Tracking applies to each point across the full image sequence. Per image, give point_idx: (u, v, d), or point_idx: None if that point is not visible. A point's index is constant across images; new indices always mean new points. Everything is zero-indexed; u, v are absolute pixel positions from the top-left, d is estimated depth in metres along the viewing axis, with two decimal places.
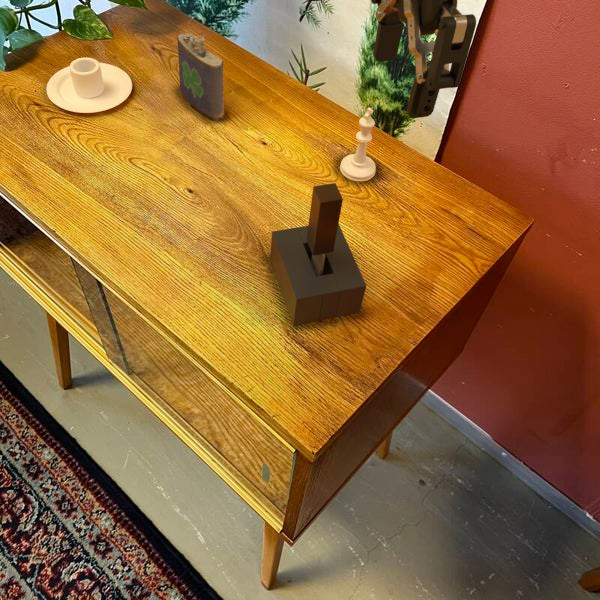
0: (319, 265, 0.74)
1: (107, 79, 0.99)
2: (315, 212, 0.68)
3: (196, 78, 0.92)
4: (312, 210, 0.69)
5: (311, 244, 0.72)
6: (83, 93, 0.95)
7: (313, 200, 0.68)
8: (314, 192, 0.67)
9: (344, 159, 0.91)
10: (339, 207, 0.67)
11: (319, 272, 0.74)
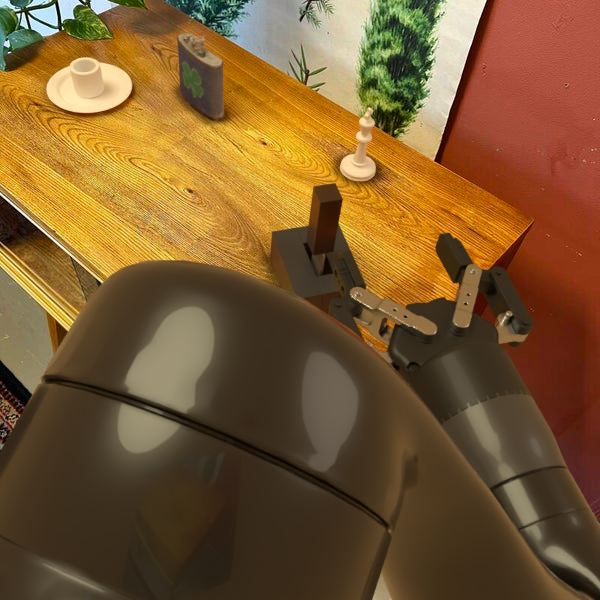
0: (319, 265, 0.74)
1: (107, 78, 0.99)
2: (315, 212, 0.68)
3: (196, 78, 0.92)
4: (312, 210, 0.69)
5: (311, 244, 0.72)
6: (83, 93, 0.95)
7: (313, 200, 0.68)
8: (314, 192, 0.67)
9: (344, 159, 0.91)
10: (339, 207, 0.67)
11: (319, 272, 0.74)
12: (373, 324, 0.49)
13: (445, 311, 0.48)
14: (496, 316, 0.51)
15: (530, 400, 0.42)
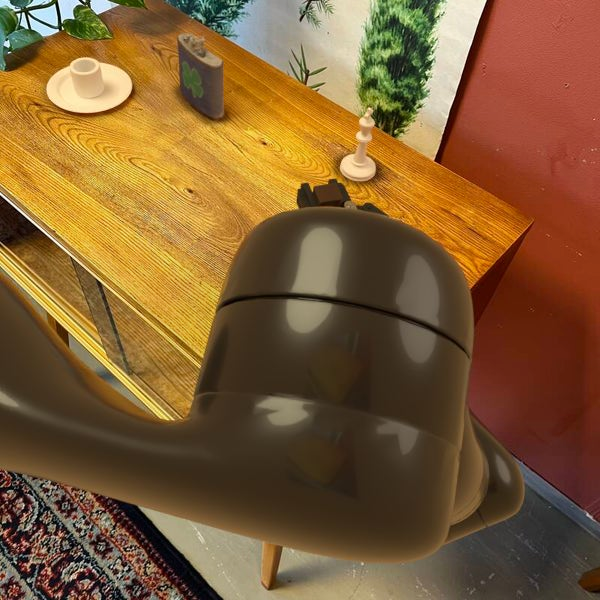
0: None
1: (107, 78, 0.99)
2: None
3: (196, 78, 0.92)
4: None
5: None
6: (83, 93, 0.95)
7: None
8: (314, 192, 0.67)
9: (344, 159, 0.91)
10: None
11: None
12: None
13: None
14: None
15: None
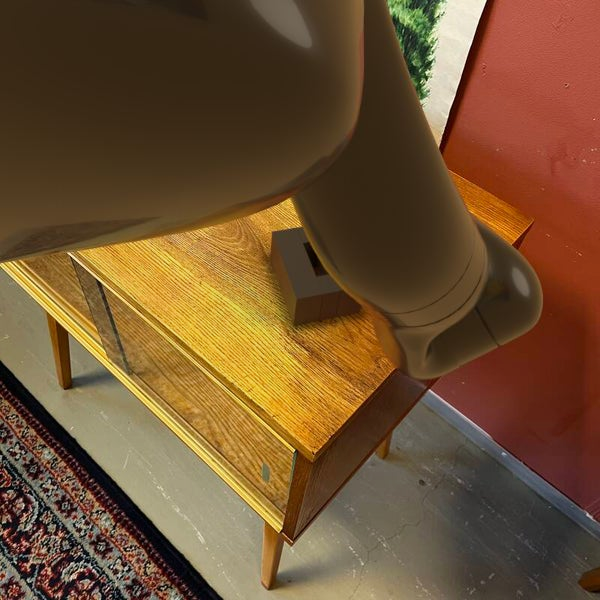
0: None
1: None
2: None
3: None
4: None
5: None
6: None
7: None
8: None
9: None
10: None
11: None
12: None
13: None
14: None
15: None
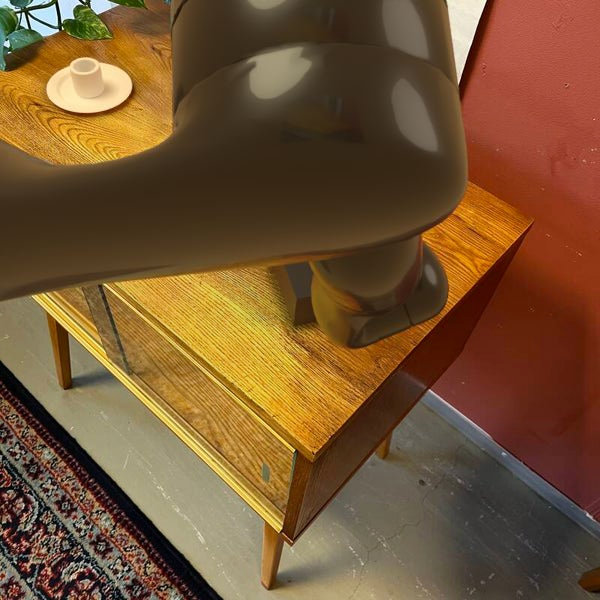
0: None
1: (107, 79, 0.99)
2: None
3: None
4: None
5: None
6: (83, 93, 0.95)
7: None
8: None
9: None
10: None
11: None
12: None
13: None
14: None
15: None
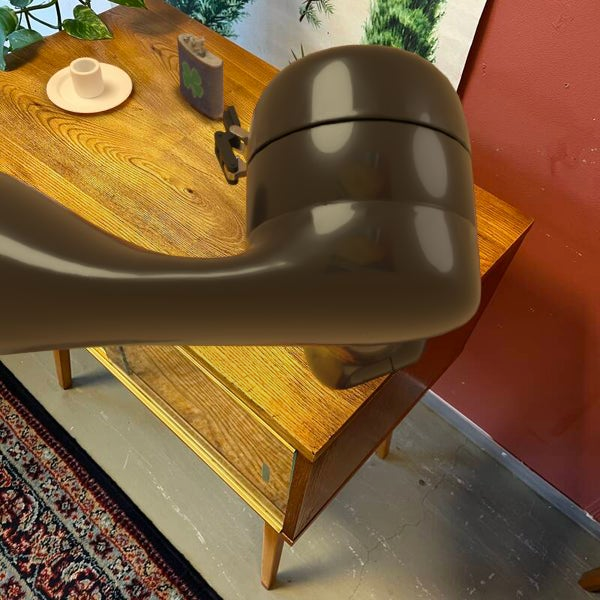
0: None
1: (107, 79, 0.99)
2: None
3: (196, 78, 0.92)
4: None
5: None
6: (83, 93, 0.95)
7: None
8: None
9: None
10: None
11: None
12: (245, 150, 0.72)
13: None
14: None
15: None
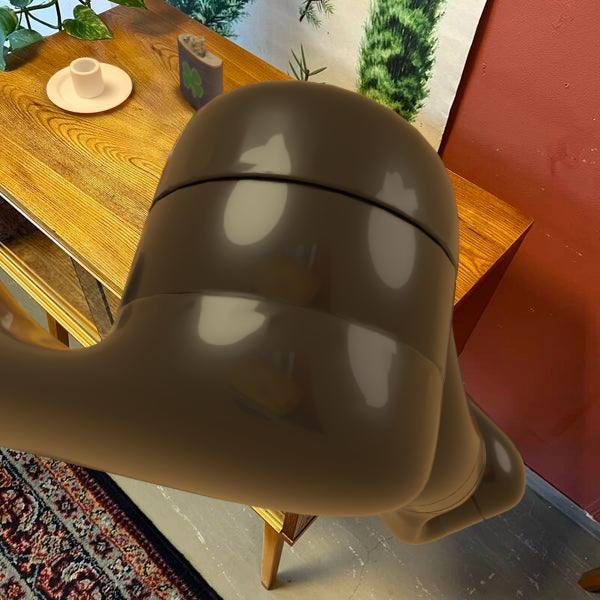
0: None
1: (107, 79, 0.99)
2: None
3: (196, 78, 0.92)
4: None
5: None
6: (83, 93, 0.95)
7: None
8: None
9: None
10: None
11: None
12: None
13: None
14: None
15: None
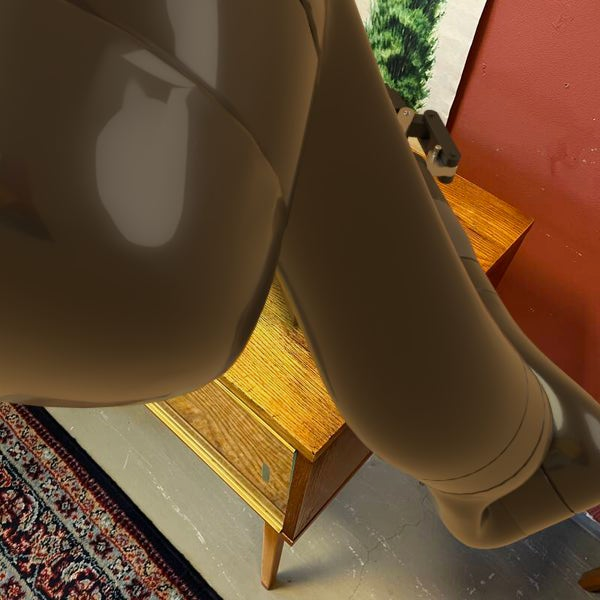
0: None
1: None
2: None
3: None
4: None
5: None
6: None
7: None
8: None
9: None
10: None
11: None
12: None
13: None
14: None
15: (448, 207, 0.44)
